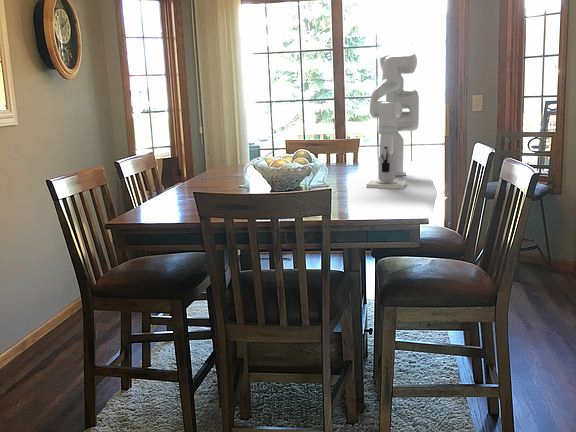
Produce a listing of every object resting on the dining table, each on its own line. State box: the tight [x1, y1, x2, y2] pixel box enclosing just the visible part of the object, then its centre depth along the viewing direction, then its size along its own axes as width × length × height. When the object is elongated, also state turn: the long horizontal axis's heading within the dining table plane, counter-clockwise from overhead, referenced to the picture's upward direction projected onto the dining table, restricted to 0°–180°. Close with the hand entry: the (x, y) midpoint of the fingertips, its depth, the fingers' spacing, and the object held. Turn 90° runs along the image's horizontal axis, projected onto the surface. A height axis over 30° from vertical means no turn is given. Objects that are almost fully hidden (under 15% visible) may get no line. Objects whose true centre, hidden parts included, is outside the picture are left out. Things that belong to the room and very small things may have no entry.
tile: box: [365, 180, 407, 189], centre depth 272 cm, size 13×16×2 cm
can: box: [377, 154, 396, 182], centre depth 270 cm, size 8×8×12 cm
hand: (386, 170), depth 271 cm, fingers closed on can, 7 cm apart
